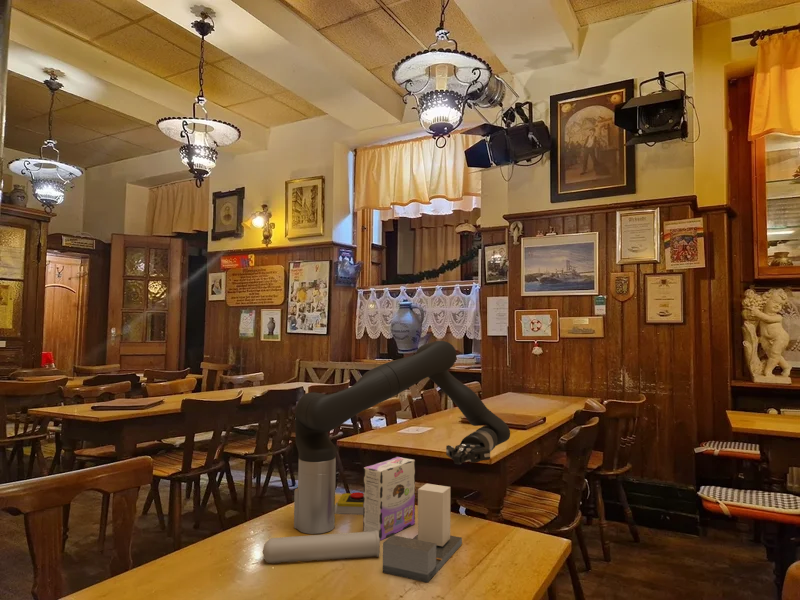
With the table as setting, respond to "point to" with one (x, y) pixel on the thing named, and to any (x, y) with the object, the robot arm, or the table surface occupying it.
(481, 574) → the table surface
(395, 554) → the grey base block
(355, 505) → the emergency button
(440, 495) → the block
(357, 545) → the tube
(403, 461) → the candy box
